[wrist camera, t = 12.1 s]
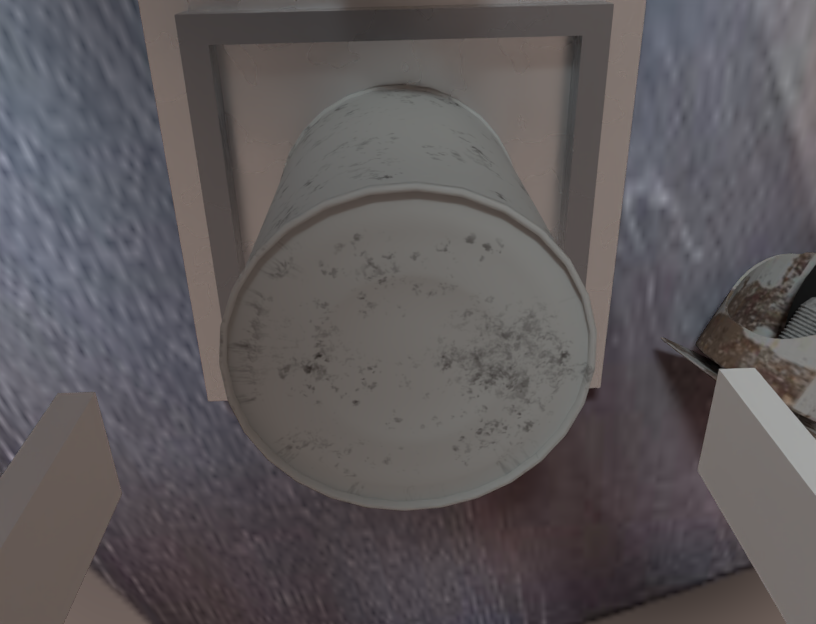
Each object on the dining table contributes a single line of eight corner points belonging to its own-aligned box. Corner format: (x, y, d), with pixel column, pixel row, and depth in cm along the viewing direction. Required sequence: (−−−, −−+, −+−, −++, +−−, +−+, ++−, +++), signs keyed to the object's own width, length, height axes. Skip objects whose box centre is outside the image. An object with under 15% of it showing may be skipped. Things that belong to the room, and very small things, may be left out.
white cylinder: (411, 351, 33) (426, 561, 22) (232, 221, 29) (143, 390, 19) (566, 192, 29) (676, 344, 18) (382, 27, 26) (384, 94, 15)
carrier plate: (110, -241, 24) (22, -297, 18) (661, -251, 24) (749, -310, 18) (214, 383, 35) (181, 472, 29) (591, 370, 35) (633, 456, 29)
